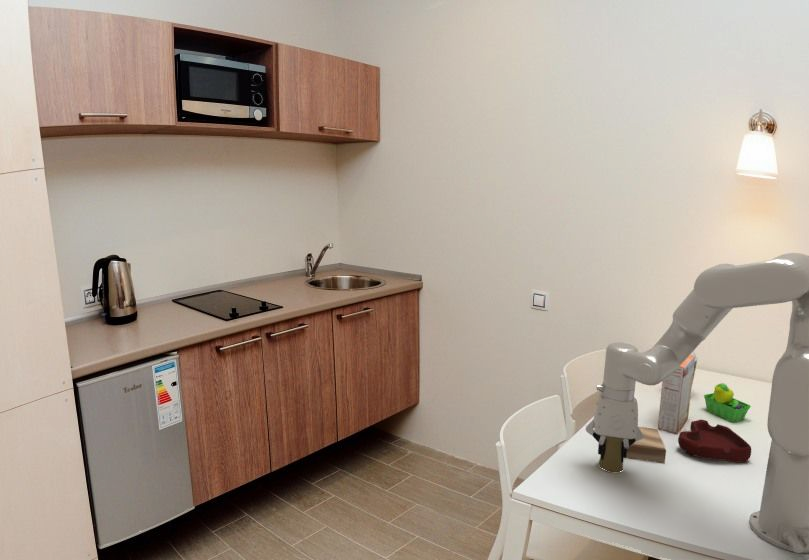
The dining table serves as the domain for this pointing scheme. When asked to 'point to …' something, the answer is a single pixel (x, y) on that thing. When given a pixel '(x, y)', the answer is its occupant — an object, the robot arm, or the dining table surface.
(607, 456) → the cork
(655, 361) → the robot arm
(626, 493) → the dining table surface
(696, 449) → the ashtray
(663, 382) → the cracker box
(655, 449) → the walnut stand
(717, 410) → the fruit basket
